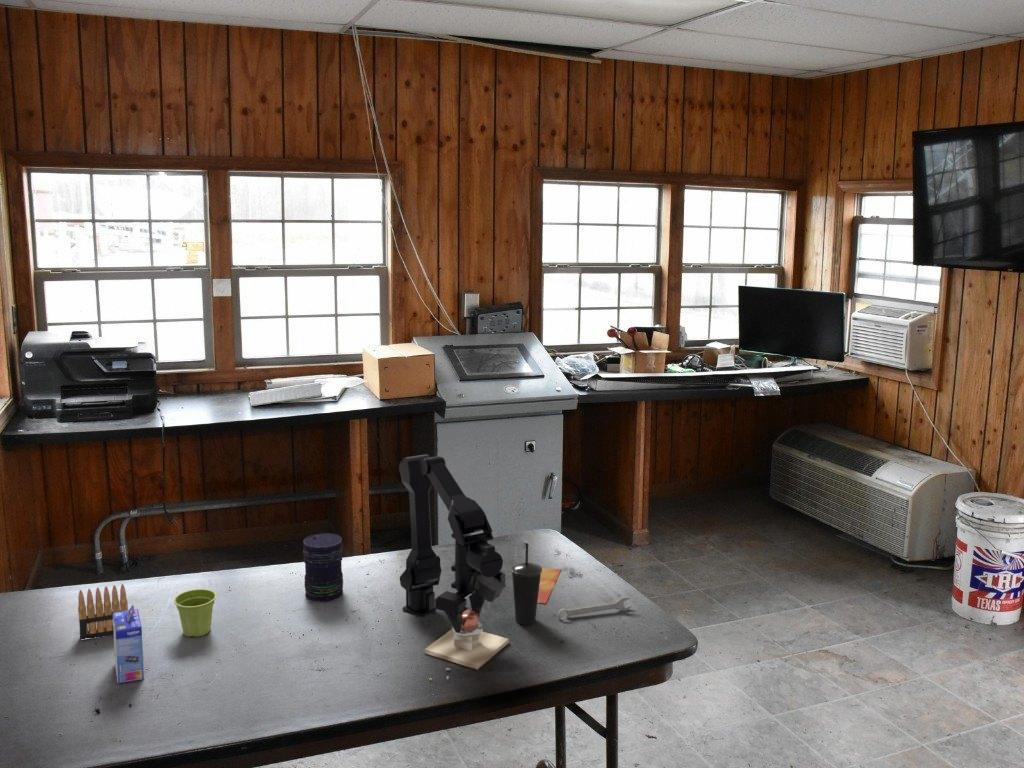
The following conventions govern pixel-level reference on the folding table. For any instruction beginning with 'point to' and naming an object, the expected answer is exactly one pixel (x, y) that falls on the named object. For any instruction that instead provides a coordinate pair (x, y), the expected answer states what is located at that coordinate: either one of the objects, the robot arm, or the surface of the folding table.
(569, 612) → the combination wrench
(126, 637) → the ink cartridge box
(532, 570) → the drinking cup
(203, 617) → the plant pot
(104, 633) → the ammunition clip
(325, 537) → the storage jar
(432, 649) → the stand
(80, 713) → the folding table surface
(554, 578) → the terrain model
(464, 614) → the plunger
